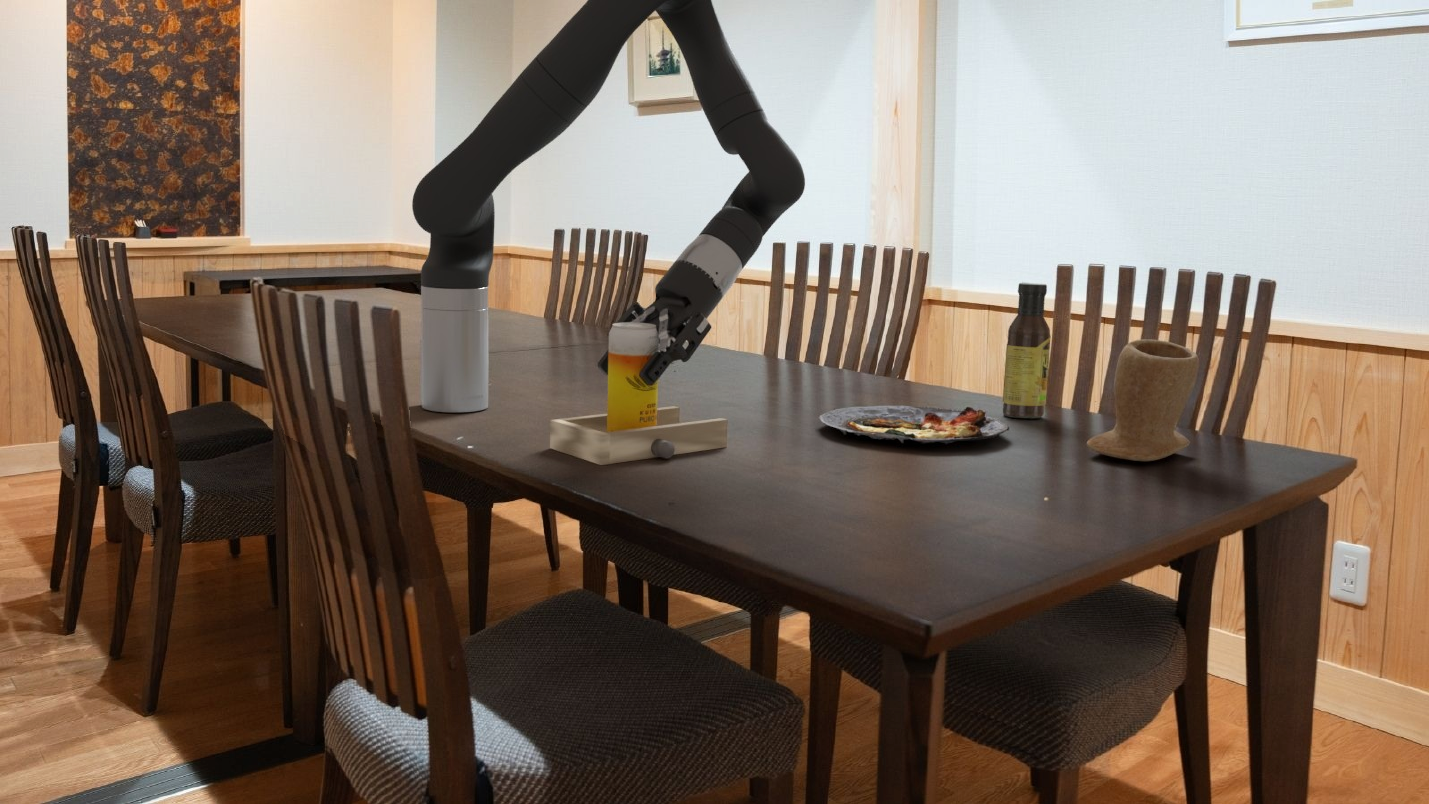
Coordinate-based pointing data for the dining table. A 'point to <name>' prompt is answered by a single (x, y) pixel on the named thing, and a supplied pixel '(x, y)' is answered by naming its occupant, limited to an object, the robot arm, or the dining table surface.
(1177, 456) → the dining table surface
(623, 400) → the beer can
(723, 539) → the dining table surface
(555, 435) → the wooden stick frame
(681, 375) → the dining table surface
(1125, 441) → the stone cup
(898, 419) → the food plate
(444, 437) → the dining table surface
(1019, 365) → the sauce bottle
